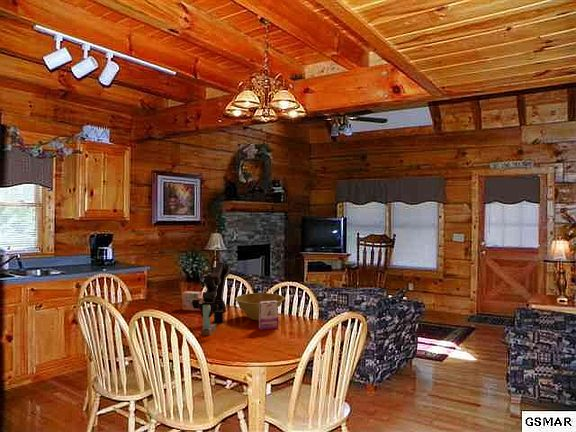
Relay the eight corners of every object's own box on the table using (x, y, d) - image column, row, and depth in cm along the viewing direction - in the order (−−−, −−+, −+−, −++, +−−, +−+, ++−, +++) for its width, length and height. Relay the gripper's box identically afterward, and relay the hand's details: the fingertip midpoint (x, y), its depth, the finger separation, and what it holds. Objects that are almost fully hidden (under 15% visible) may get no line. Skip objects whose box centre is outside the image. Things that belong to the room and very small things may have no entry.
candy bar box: (276, 326, 280) (276, 300, 280) (278, 328, 276) (278, 301, 275) (258, 327, 277) (258, 301, 277) (260, 330, 273) (260, 302, 272)
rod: (206, 326, 266) (206, 304, 265) (211, 327, 264) (211, 305, 263) (201, 328, 262) (201, 305, 262) (206, 329, 260) (206, 306, 260)
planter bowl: (262, 327, 279) (262, 305, 279) (225, 318, 298) (224, 298, 298) (293, 316, 305) (294, 296, 304) (257, 309, 324) (257, 290, 324)
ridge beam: (208, 328, 275) (208, 323, 275) (216, 328, 275) (216, 324, 274) (201, 335, 261) (201, 330, 261) (209, 335, 261) (209, 330, 261)
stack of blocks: (213, 309, 324) (213, 292, 323) (209, 311, 318) (209, 294, 317) (186, 307, 330) (186, 290, 330) (182, 309, 324) (182, 292, 324)
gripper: (192, 285, 267) (186, 309, 256) (223, 286, 265) (219, 310, 255) (196, 296, 275) (191, 319, 264) (227, 297, 273) (222, 320, 263)
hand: (205, 317), depth 261 cm, fingers closed on rod, 4 cm apart
